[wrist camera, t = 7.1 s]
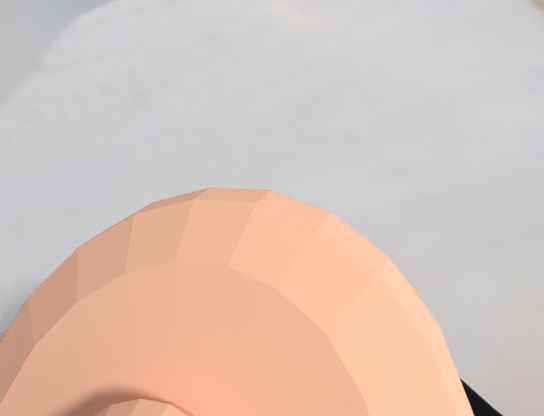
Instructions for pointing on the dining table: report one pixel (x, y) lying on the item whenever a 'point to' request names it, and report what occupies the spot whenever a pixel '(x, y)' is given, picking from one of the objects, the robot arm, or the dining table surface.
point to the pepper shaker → (227, 321)
